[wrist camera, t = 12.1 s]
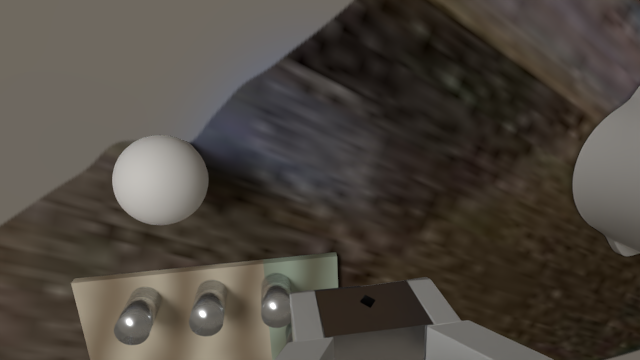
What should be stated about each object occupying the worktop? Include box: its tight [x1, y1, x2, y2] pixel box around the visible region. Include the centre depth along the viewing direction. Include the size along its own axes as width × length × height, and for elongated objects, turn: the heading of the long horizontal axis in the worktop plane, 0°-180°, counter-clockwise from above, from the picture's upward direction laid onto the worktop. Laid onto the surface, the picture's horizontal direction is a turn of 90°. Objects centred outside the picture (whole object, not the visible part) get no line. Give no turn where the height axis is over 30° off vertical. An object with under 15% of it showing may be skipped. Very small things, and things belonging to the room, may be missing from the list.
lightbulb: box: [112, 135, 209, 225], centre depth 31 cm, size 6×6×11 cm
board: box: [71, 252, 338, 360], centre depth 42 cm, size 24×16×1 cm, turn 92°
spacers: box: [114, 273, 291, 345], centre depth 39 cm, size 18×14×4 cm
